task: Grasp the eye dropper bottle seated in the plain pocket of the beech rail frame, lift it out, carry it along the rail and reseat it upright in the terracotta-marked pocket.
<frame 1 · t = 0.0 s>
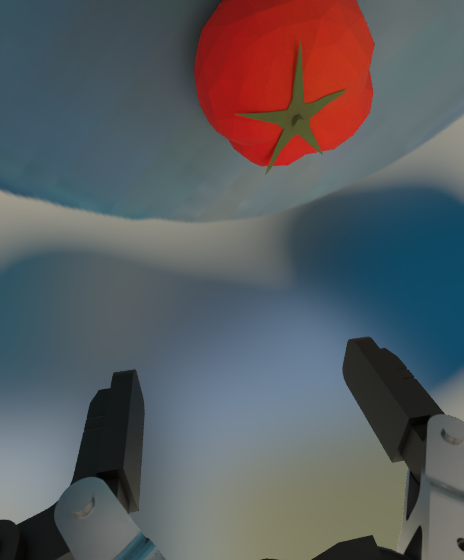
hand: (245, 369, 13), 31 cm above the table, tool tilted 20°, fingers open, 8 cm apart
tomato: (269, 48, 33), on the table
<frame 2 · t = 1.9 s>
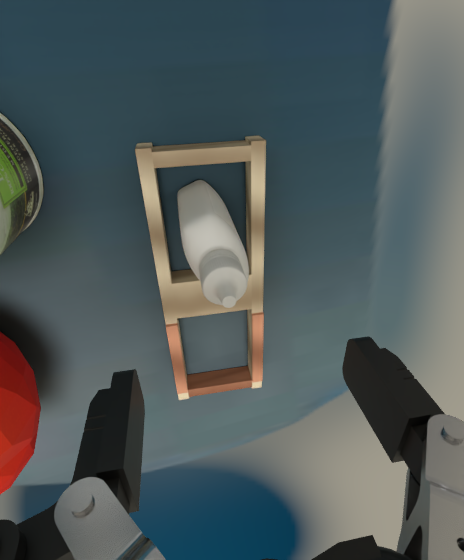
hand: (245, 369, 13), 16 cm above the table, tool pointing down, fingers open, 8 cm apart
rail: (210, 284, 30), on the table
eye dropper bottle: (205, 213, 27), resting in rail
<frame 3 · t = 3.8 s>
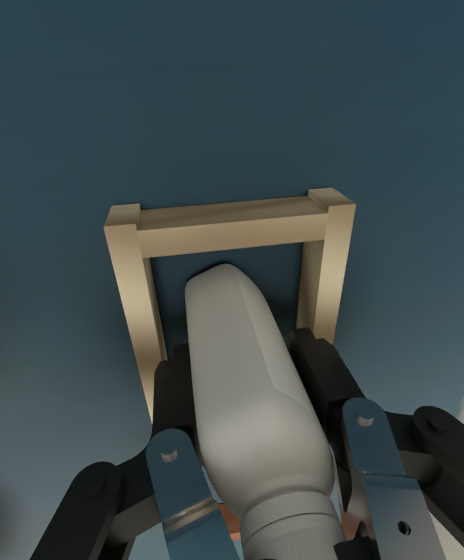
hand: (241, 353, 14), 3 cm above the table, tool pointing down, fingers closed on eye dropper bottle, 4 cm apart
rail: (234, 403, 19), on the table
eye dropper bottle: (230, 309, 16), resting in rail, touching gripper
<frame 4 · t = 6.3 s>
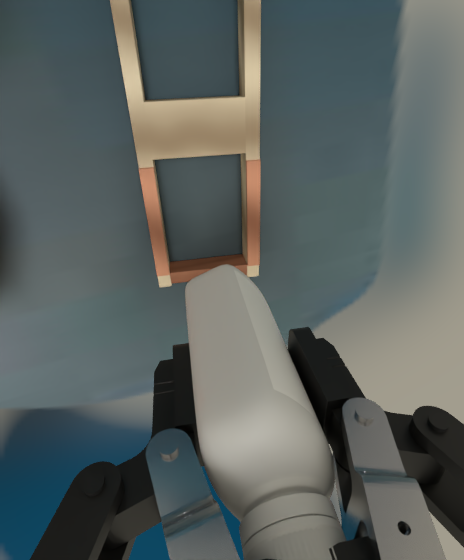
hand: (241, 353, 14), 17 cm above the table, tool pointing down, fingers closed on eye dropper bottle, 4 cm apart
rail: (195, 125, 24), on the table
eye dropper bottle: (230, 310, 16), point 14 cm above the table, touching gripper
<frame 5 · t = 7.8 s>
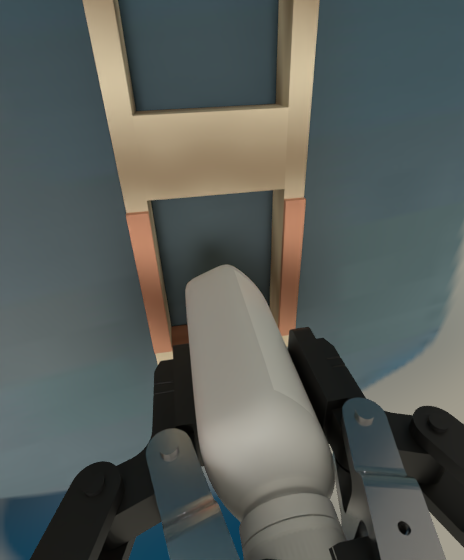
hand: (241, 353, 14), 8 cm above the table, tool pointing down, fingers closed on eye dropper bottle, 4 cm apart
rail: (210, 147, 17), on the table
eye dropper bottle: (230, 310, 16), point 5 cm above the table, touching gripper
when the fingers open (4 cm above the table, at t = 8.9 s): eye dropper bottle drops 1 cm, resting in rail.
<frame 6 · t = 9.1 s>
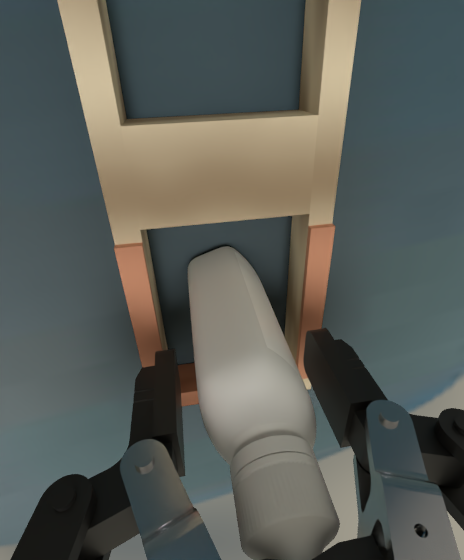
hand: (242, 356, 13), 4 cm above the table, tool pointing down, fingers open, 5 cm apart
rail: (218, 162, 14), on the table
eye dropper bottle: (228, 291, 17), resting in rail
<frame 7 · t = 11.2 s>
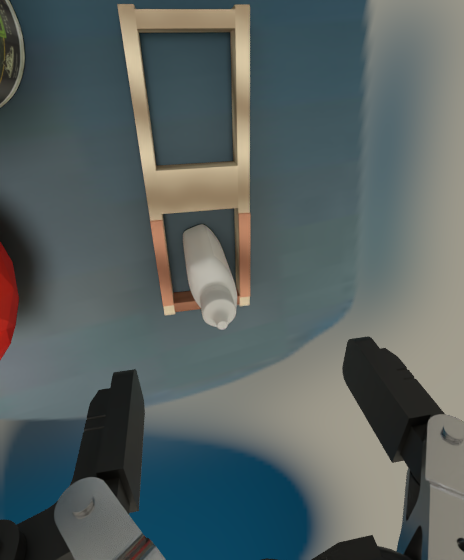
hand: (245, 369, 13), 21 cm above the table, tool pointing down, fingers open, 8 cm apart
rail: (197, 184, 30), on the table
eye dropper bottle: (203, 249, 33), resting in rail
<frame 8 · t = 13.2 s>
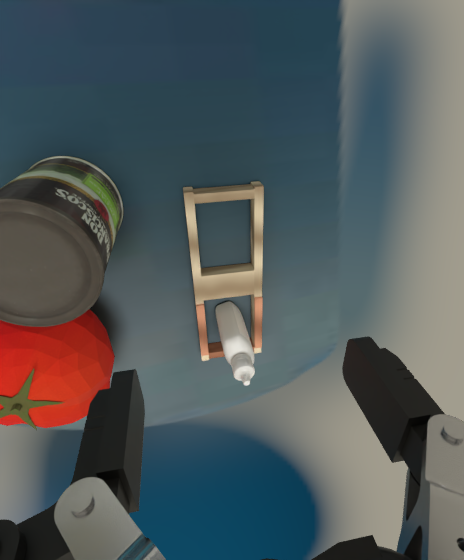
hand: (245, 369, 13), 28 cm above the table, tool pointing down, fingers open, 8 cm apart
rail: (226, 277, 44), on the table
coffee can: (72, 204, 36), on the table
tomato: (64, 321, 43), on the table
eye dropper bottle: (229, 315, 47), resting in rail
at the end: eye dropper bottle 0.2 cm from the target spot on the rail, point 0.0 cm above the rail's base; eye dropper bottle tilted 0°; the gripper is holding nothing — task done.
